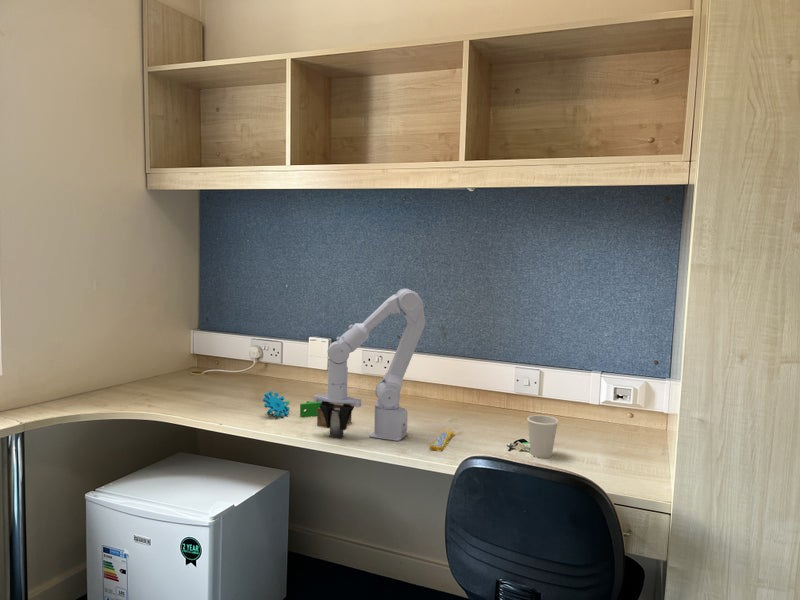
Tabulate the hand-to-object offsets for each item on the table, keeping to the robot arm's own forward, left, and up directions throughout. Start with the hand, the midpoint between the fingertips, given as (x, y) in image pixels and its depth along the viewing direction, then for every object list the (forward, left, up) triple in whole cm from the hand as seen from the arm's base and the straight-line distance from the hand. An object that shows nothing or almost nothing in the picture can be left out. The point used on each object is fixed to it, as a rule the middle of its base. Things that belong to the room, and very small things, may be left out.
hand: (336, 428), depth 177 cm
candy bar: (-30, -8, -3) cm, 31 cm away
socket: (+6, -11, -2) cm, 13 cm away
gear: (+27, -12, -3) cm, 30 cm away
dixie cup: (-58, -9, -3) cm, 59 cm away
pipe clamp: (+16, -18, -3) cm, 25 cm away
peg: (0, 0, -2) cm, 2 cm away
